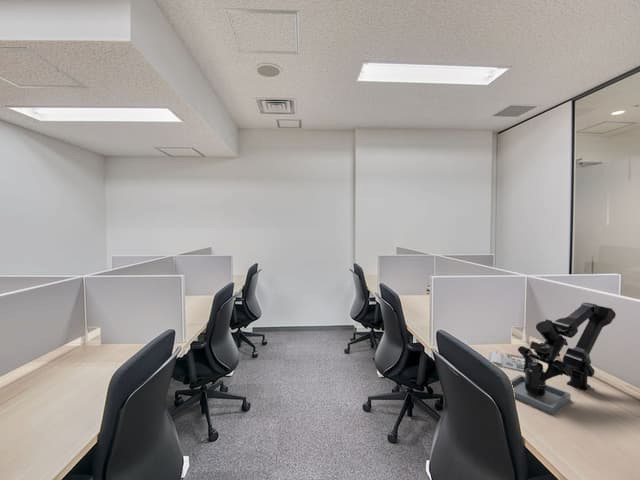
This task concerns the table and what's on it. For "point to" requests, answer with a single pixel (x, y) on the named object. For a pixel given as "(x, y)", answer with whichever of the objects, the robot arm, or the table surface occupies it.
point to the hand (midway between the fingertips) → (532, 376)
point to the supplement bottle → (535, 379)
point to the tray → (545, 403)
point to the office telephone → (507, 361)
